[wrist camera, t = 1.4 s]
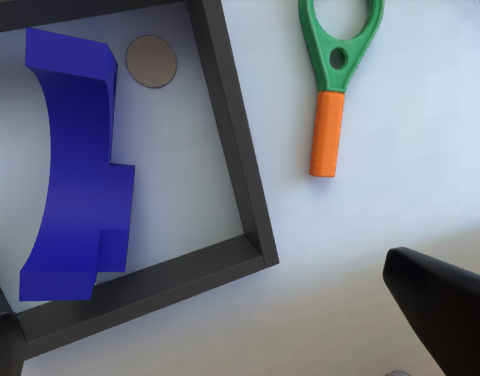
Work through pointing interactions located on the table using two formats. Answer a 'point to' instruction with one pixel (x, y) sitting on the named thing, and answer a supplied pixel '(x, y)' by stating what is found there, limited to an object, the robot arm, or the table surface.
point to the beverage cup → (398, 373)
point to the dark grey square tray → (237, 158)
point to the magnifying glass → (333, 79)
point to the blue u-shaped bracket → (77, 171)
